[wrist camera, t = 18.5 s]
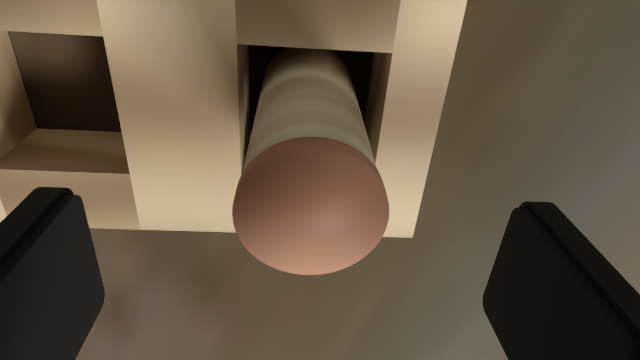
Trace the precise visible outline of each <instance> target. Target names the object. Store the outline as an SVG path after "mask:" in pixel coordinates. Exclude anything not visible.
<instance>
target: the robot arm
mask: <svg viewBox="0 0 640 360" xmlns="http://www.w3.org/2000/svg"><path fill="white" fill-rule="evenodd" d="M104 297H105V292H104V287H103V283H102V278H101V274H100V270H99V266H98V262H97V258H96V254H95V250H94V246H93V241H92V237H91V233H90V229H89V225H88V221H87V217H86V213H85V209H84V205H83V201H82V198H81V197H80V196H79V195H74V193H73V192H72V190H71V189H69V188H63V187H37V188H35V189H34V190H33V191H32V192H31V193H30V194H29V195H28V196H27V197H26V198H25V199H24V200H23V201H22V202H21V203H20V204H19V205H18V206H17V207H16V208H15V209H14V210H13V211H12V212H11V213H10V214H9V215H8V216H7V217H6V218H5V219H3V220H2V221H1V222H0V360H75V359H76V357H77V355H78V353H79V351H80V349H81V347H82V345H83V343H84V341H85V339H86V337H87V335H88V334H89V332H90V330H91V328H92V326H93V324H94V322H95V320H96V318H97V316H98V314H99V312H100V310H101V308H102V306H103V302H104ZM483 307H484V311H485V313H486V315H487V317H488V319H489V321H490V323H491V325H492V327H493V329H494V331H495V333H496V335H497V337H498V339H499V342H500V344H501V346H502V348H503V350H504V352H505V354H506V356H507V358H508V360H640V295H639V293H638V292H637V291H636V290H635V289H634V288H633V287H632V286H631V285H630V284H629V283H628V282H627V281H626V280H625V279H624V278H623V277H622V275H621V274H620V273H619V272H618V271H617V270H616V269H615V268H614V267H613V266H612V265H611V264H610V263H609V262H608V261H607V260H606V258H605V257H604V256H603V255H602V254H601V253H600V252H599V251H598V250H597V249H596V248H595V247H594V246H593V245H592V244H591V243H590V241H589V240H588V239H587V238H586V237H585V236H584V235H583V234H582V233H581V232H580V231H579V230H578V229H577V228H576V227H575V226H574V224H573V223H572V222H571V221H570V220H569V219H568V218H567V217H566V216H565V215H564V214H563V213H562V212H561V211H560V210H559V209H558V207H557V206H556V205H554V204H553V203H550V202H523V203H522V204H521V205H520V206H519V208H515V209H514V210H513V211H512V213H511V216H510V219H509V222H508V224H507V227H506V230H505V233H504V236H503V239H502V242H501V245H500V248H499V251H498V254H497V257H496V260H495V262H494V265H493V268H492V271H491V274H490V277H489V280H488V283H487V286H486V289H485V292H484V295H483Z"/></svg>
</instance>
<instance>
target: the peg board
mask: <svg viewBox="0 0 640 360" xmlns="http://www.w3.org/2000/svg"><path fill="white" fill-rule="evenodd" d="M466 4H467V0H0V222H1V221H2V220H3V219H5V218H6V217H7V216H8V215H9V214H10V213H11V212H12V211H13V210H14V209H15V208H16V207H17V206H18V205H19V204H20V203H21V202H22V201H23V200H24V199H25V198H26V197H27V196H28V195H29V194H30V193H31V192H32V191H33V190H34V189H35V188H37V187H63V188H69V189H71V190H72V192H73V193H74V195H79V196H80V197H81V198H82V201H83V205H84V209H85V213H86V217H87V221H88V225H89V228H104V229H138V230H172V231H205V232H236V231H235V227H234V224H233V217H232V207H233V202H234V197H235V193H236V188H237V184H238V182H239V179H240V177H241V175H242V173H243V168H244V164H245V159H246V155H247V151H248V146H249V142H250V101H249V51H248V45H260V46H278V47H295V48H312V49H330V50H347V51H364V52H374V56H373V63H372V71H371V78H370V86H369V94H368V101H367V109H366V116H365V124H364V126H365V129H366V133H367V136H368V140H369V143H370V147H371V150H372V153H373V157H374V160H375V164H376V167H377V170H378V172H379V174H380V176H381V178H382V181H383V183H384V187H385V190H386V193H387V197H388V202H389V220H388V224H387V228H386V230H385V232H384V235H383V237H407V238H413V233H414V229H415V225H416V220H417V216H418V212H419V207H420V203H421V199H422V195H423V190H424V186H425V182H426V177H427V173H428V169H429V164H430V160H431V156H432V151H433V147H434V143H435V138H436V134H437V130H438V125H439V121H440V117H441V112H442V108H443V104H444V99H445V95H446V91H447V86H448V82H449V78H450V73H451V69H452V65H453V60H454V56H455V52H456V47H457V43H458V39H459V34H460V30H461V26H462V21H463V17H464V13H465V8H466ZM7 31H18V32H35V33H52V34H70V35H87V36H103V38H104V43H105V48H106V53H107V59H108V64H109V69H110V74H111V79H112V84H113V90H114V95H115V100H116V105H117V110H118V116H119V121H120V126H121V131H122V132H108V131H85V130H62V129H39V128H37V127H36V123H35V120H34V117H33V114H32V110H31V107H30V104H29V100H28V97H27V94H26V91H25V87H24V84H23V81H22V77H21V74H20V71H19V68H18V64H17V61H16V58H15V55H14V51H13V48H12V45H11V41H10V38H9V35H8V32H7Z"/></svg>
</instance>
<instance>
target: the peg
mask: <svg viewBox="0 0 640 360" xmlns="http://www.w3.org/2000/svg"><path fill="white" fill-rule="evenodd" d="M232 217H233V224H234V227H235V231H236V233H237V235H238V237H239V239H240V241H241V242H242V244H243V245H244V246H245V248H246V249H247V250H248V251H249V252H250V253H251V254H252V255H253V256H255V257H256V258H257V259H259V260H260V261H262V262H263V263H265V264H267V265H269V266H271V267H273V268H276V269H278V270H281V271H285V272H288V273H294V274H301V275H318V274H326V273H331V272H335V271H338V270H341V269H344V268H346V267H349V266H351V265H353V264H355V263H356V262H358V261H360V260H361V259H363V258H364V257H365V256H367V255H368V254H369V253H370V252H371V251H372V250H373V249H374V248H375V247H376V245H377V244H378V243H379V241H380V240H381V238H382V237H383V235H384V232H385V230H386V228H387V224H388V220H389V202H388V197H387V193H386V190H385V187H384V183H383V181H382V178H381V176H380V174H379V172H378V170H377V167H376V164H375V160H374V157H373V153H372V150H371V147H370V143H369V140H368V136H367V133H366V129H365V126H364V122H363V119H362V115H361V112H360V108H359V105H358V101H357V98H356V94H355V91H354V87H353V84H352V80H351V77H350V73H349V70H348V68H347V66H346V64H345V62H344V61H343V59H342V58H341V57H340V56H339V55H338V54H337V53H336V52H335V51H334V50H330V49H312V48H295V47H285V48H284V49H282V50H281V51H279V52H278V53H277V54H276V55H275V56H274V57H273V58H272V60H271V61H270V63H269V64H268V66H267V69H266V72H265V75H264V80H263V84H262V88H261V93H260V97H259V102H258V106H257V111H256V115H255V120H254V124H253V128H252V133H251V137H250V142H249V146H248V151H247V155H246V159H245V164H244V168H243V173H242V175H241V177H240V179H239V182H238V184H237V188H236V193H235V197H234V202H233V207H232Z"/></svg>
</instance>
